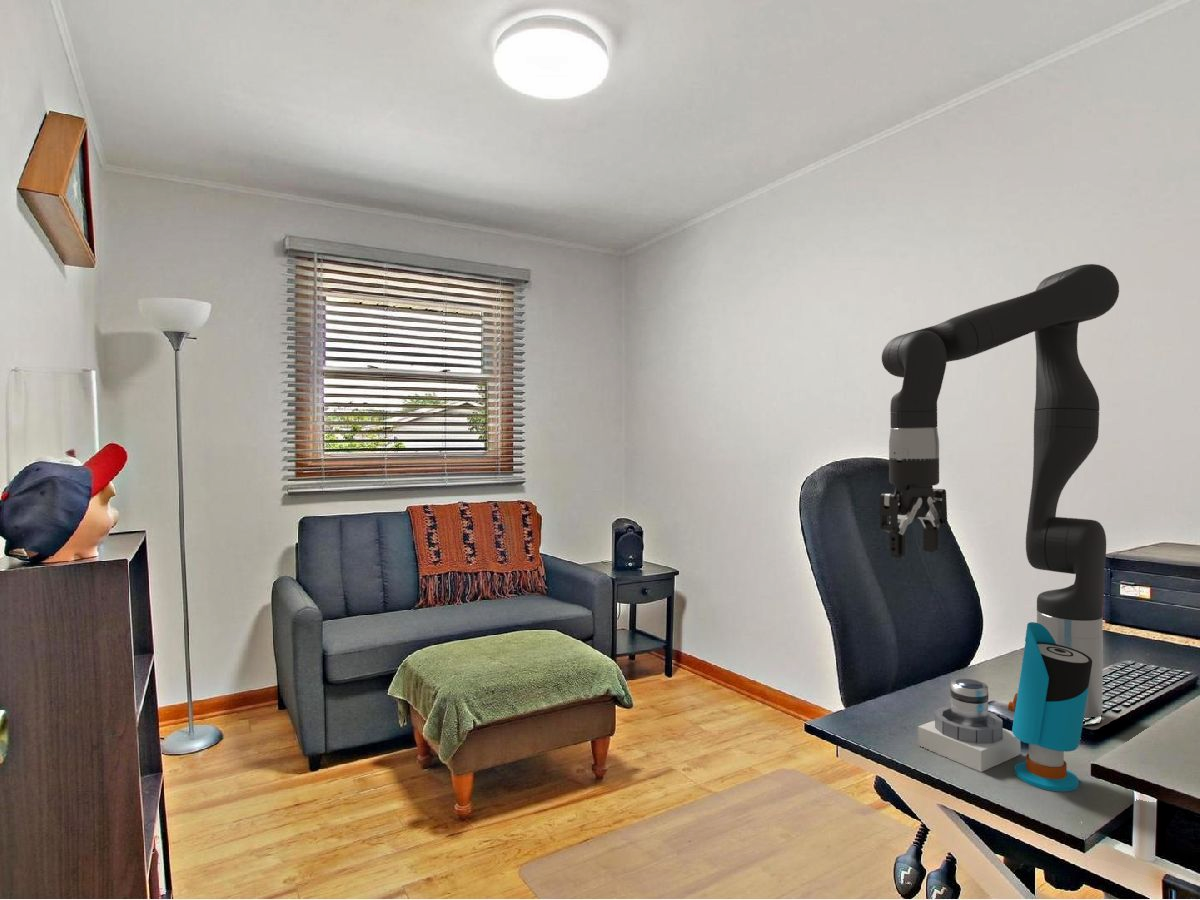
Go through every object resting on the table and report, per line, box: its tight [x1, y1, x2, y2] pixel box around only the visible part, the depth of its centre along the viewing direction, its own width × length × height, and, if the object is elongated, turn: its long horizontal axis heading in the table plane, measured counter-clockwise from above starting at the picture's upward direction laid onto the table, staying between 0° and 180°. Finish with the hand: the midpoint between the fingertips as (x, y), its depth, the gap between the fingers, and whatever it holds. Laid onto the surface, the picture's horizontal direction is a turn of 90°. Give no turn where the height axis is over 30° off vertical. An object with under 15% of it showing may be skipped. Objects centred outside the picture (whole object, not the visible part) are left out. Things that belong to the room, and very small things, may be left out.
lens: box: [949, 677, 989, 727], centre depth 108 cm, size 5×5×7 cm
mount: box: [917, 705, 1021, 773], centre depth 108 cm, size 10×10×5 cm
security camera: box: [1007, 621, 1092, 792], centre depth 99 cm, size 8×21×10 cm
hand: (914, 554), depth 117 cm, fingers open, 8 cm apart
